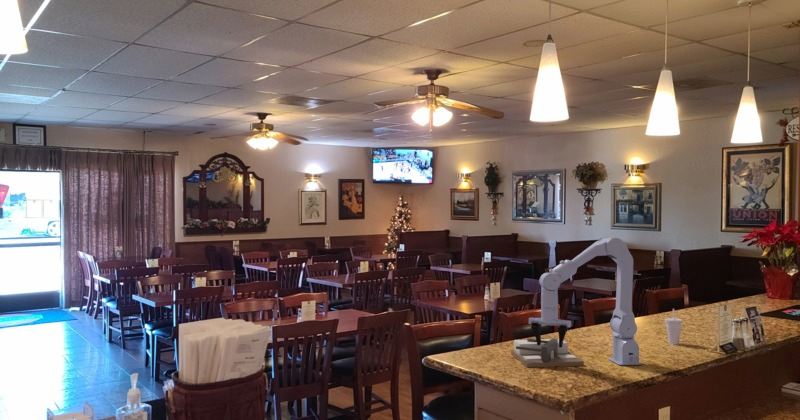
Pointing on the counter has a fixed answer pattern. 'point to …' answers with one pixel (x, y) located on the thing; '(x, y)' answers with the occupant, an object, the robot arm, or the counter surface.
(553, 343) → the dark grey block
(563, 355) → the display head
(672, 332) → the smoothie
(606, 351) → the counter surface
